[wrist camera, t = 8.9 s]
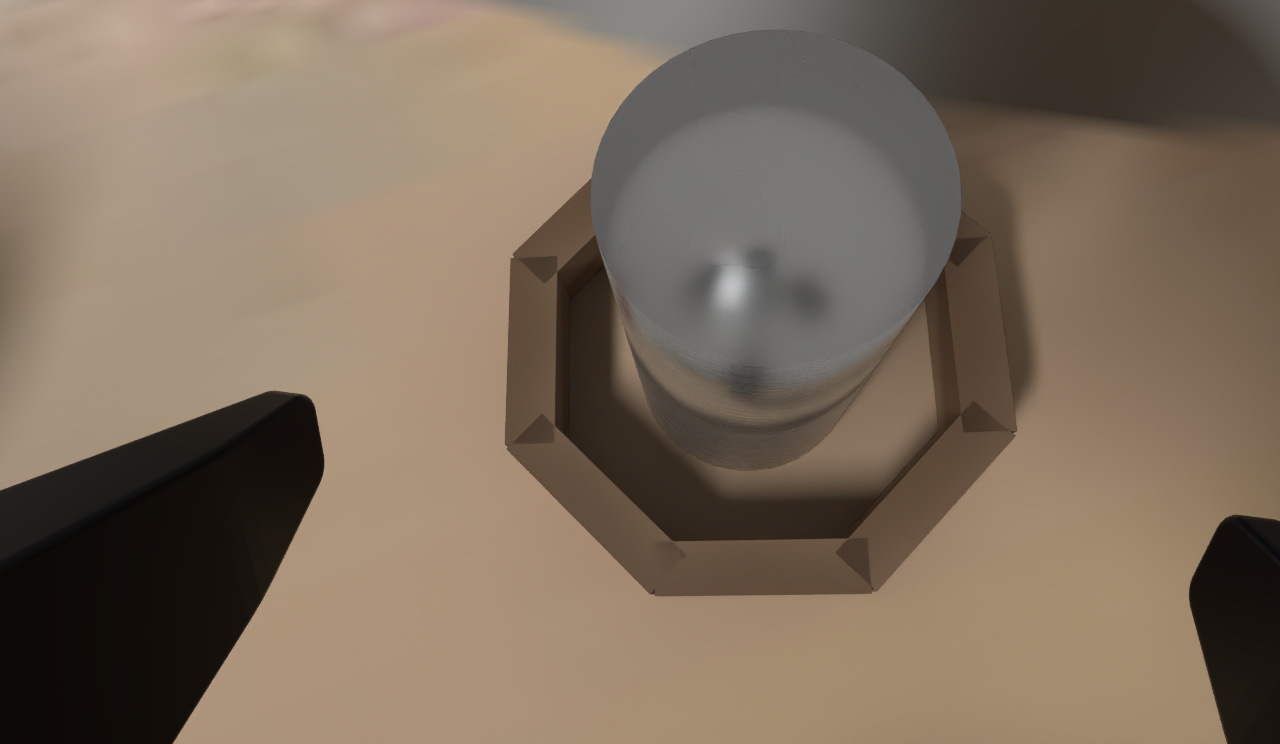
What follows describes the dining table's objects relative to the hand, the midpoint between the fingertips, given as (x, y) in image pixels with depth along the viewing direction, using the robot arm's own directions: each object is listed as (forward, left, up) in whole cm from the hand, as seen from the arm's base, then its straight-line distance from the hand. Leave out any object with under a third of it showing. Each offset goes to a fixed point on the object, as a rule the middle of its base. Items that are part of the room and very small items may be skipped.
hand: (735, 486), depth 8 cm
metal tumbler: (+3, -4, -13) cm, 14 cm away
